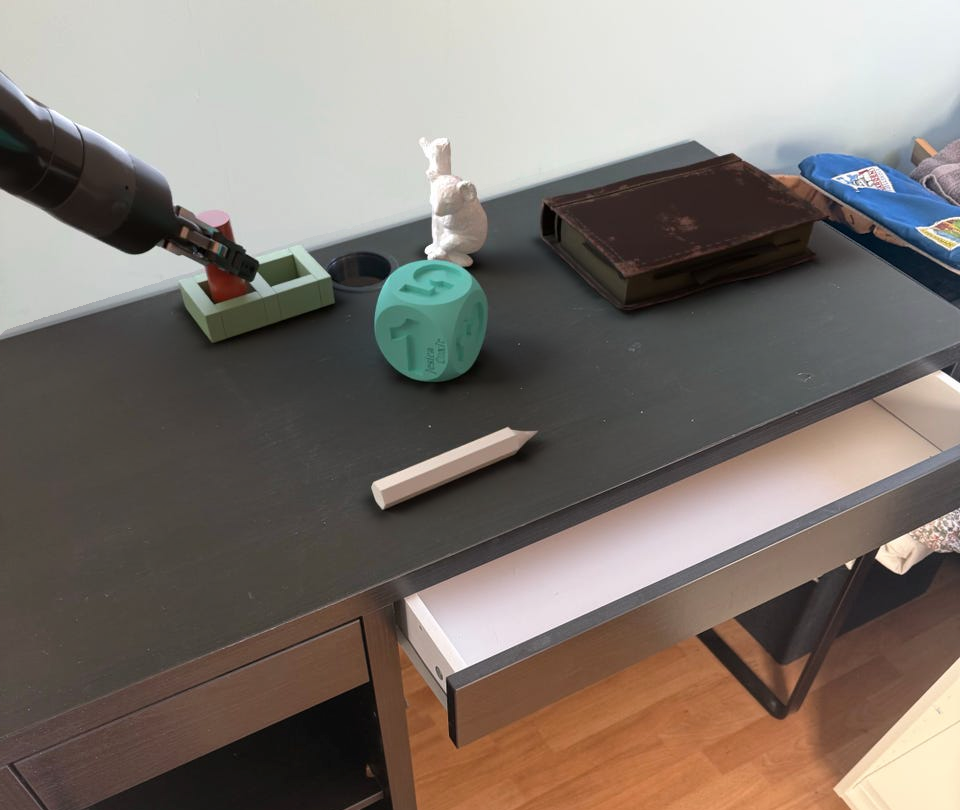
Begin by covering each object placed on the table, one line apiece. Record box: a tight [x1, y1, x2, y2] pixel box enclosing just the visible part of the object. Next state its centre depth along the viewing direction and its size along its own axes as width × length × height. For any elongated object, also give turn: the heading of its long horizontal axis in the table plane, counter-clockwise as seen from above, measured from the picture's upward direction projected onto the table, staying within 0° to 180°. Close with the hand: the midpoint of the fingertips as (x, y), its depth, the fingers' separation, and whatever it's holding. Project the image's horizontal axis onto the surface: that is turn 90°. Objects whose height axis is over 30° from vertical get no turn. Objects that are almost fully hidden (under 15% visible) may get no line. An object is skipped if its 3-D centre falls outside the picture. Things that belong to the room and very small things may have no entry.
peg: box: [194, 209, 248, 305], centre depth 88 cm, size 4×4×10 cm
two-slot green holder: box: [177, 244, 336, 344], centre depth 92 cm, size 14×8×3 cm, turn 122°
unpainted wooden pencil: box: [370, 426, 539, 510], centre depth 77 cm, size 3×2×16 cm
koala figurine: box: [418, 136, 489, 268], centre depth 94 cm, size 8×7×12 cm
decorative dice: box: [373, 259, 489, 383], centre depth 84 cm, size 8×8×8 cm
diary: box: [539, 152, 830, 311], centre depth 98 cm, size 19×25×5 cm
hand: (238, 264), depth 90 cm, fingers closed on peg, 3 cm apart
